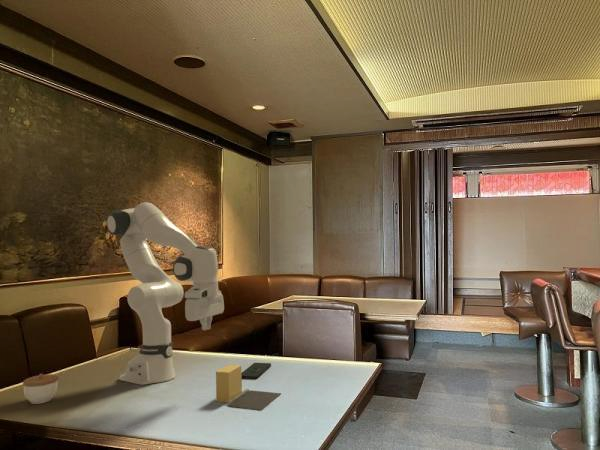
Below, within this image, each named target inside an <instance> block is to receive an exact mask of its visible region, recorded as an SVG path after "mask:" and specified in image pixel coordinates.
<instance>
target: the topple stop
mask: <svg viewBox="0 0 600 450" xmlns="http://www.w3.org/2000/svg"><path fill="white" fill-rule="evenodd" d="M281 395H282V393H280V392H279V393H278V392H273V391H272V392H270V391H261V390H260V391H259V390H250V389H249V388H245V389H244V390H242V392H241V393H240V394H238V395H237V396H235V397H234V398H232V399H231V400H229V401H228V402H226V406H228V407H231V408H236V409H245V410H246V409H247V410H252V411H253V410H255V411H263V410H264V409H265V408H266V407H268V406H269V405H270V404H271V403H273V402H274V401H275V400H276V399H277V398H278V397H279V396H281Z"/></svg>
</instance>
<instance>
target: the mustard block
mask: <svg viewBox="0 0 600 450" xmlns="http://www.w3.org/2000/svg"><path fill="white" fill-rule="evenodd" d="M241 373H242V365H239V364H237V365H236V364H228V365H226V366H224V367H221V368H220V369H218V370H216V371H215V391H216V392H215V394H216V395H215V396H216V399H215V400H216V402H219V403H220V402H221V403H227V402H228V401H229V400H231V399H232V398H234V397H235V396H237V395H238V394H240V393H241V392H242V391H243V390H242V388H243V386H242V384H243V383H242V380H243V379H242V376H241Z"/></svg>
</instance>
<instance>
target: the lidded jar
mask: <svg viewBox="0 0 600 450" xmlns="http://www.w3.org/2000/svg"><path fill="white" fill-rule="evenodd" d="M22 385H23V394H24V397H25V399H26V400H27V401H29V402H30V404H32V405H39V404H43V403H47V402H50V401H51V400H52V398H53V397H54V396H55V395H56V393H57V391H58V385H59V375H57V374H54V373H53V374H49V373H47V374H43V373H39V375H34V376H30V377H28V378H25V379H24V380H23V381H22Z"/></svg>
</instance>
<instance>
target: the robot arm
mask: <svg viewBox="0 0 600 450" xmlns="http://www.w3.org/2000/svg"><path fill="white" fill-rule="evenodd" d="M106 226H107V229H108V231H109V233H110V234H112V235H113V236H116V237H117V236H118V237H121V238H120V242H119V244H120V249H121V252H122V256H123V258H124V260H125V263H126V265H127V267H128V269H129V271H130V274H131V276H132V277H133V279H135V280H137V281H139V282H141V283H140V284H137V285H134V286H133V287H130V289H129V290H128V293H127V299H126V300H127V303H128V305H129V307H130V309H131V310H133V311H135V312H136V314H137V315H138V317H139V319H140V322H141V328H142V344H140V345H138V346H137V345H136V346H137V348H136V349H137V350H138V349H139V352H138V354H137V355H135V356H134V357H133V358H132V359H130V360H129V361H128V362H127V364H126V366H125V372H124V373H123V374H121V375H120V376H119V379H118V380H119V381H123V382H127V383H132V384H136V385H141V386H143V385H148V384H156V383H157V384H158V383H162V382H166V381H167V382H168V381H171V380H172V379H174V378H176V376H177V375H176V372H175V369H174V361H173V341H172V324H171V321H170V320H169V319H168V318H167V317H166V318H165V317H164V314H163V311H162V309H163V308H169V307H173V306H174V305H176V304H179V303H181V302H182V300H183V298H185V299H186V300H185V302H184V305H185V306H184V311H185V312H184V313H185V314H184V315H185V319H186V321H189V322H195V321H199V322H200V325H201V330H202V331H208V330H211V324H212V321H213V316H216V315H220V314H223V313H224V310H225V302H224V295H223V294H222V291H221V290H220V288H219V280H218V271H219V262H218V255H217V251H216V249H215V248H214V247H211V246H207V245H199V244H198V243H197V242H196V241H194V239H193V238H192V237H191V236H190V235H188V234H187V233H185V232H184V231H183V230H181V229H180V228H179V227H178V226H176V225H175V224H174V223H173V222H172V221H171V220H170V219H169V218H168V217H167V215H165V214H164V212H163V211H162V210H160V208H158V207H157V206H156V205H154V204H153V203H151V202H148V201H145V202H141V203H140V204H138V205H136V206H135V207H130V208H127V209H119V210H118V209H117V210H114V211H112V212H109V214H108V216H107V218H106ZM147 240H148V241H149V242H151V243H153V244H154V245H157V246H165V247H170V248H174V249H177V250H179V251H181V252H182V253H183V255H181V256H178V257H177V258H176V259H175V260H174V262H173V265H172V273H173V275H174V277H175V278H176V280H177V281H175V280H174V279H173V278H171V277H170V276H169V275H168V274H167V273H166V272H165V271H164V270H163V269H162V268H161V266H160V265H159V264H158V262H157V259H156V257H155V256H154V253H153V251H152V249H151V248H150V246H149V244H148V242H147ZM178 281H180V282H193V283H192V286H191V287H190V288H189V289H188V290H187V291H185V292H184V288H183V286H182V284H181V283H180V282H178Z"/></svg>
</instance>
